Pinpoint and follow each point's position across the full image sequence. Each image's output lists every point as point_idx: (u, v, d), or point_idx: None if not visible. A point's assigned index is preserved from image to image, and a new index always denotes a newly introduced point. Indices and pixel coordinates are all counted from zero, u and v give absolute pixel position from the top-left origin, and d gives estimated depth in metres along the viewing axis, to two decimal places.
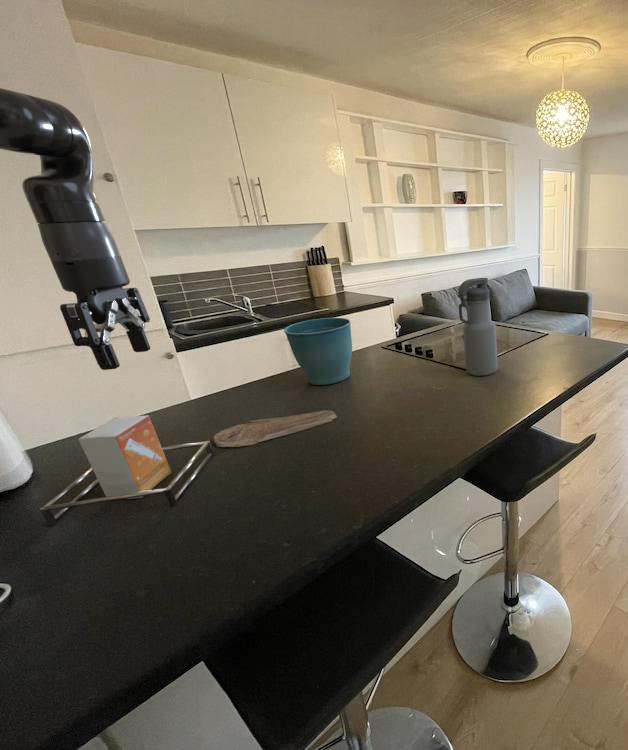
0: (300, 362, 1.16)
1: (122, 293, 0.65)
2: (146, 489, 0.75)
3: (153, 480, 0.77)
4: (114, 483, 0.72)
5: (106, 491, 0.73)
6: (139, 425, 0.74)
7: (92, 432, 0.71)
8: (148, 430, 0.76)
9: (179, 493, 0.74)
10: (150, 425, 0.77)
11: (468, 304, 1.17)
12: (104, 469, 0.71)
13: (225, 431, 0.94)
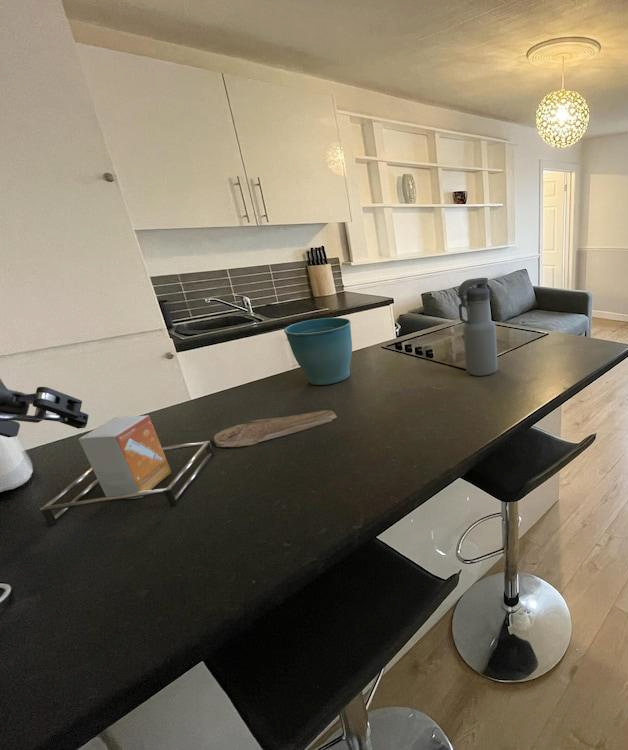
0: (300, 362, 1.16)
1: (6, 408, 0.51)
2: (146, 489, 0.75)
3: (153, 480, 0.77)
4: (114, 483, 0.72)
5: (106, 491, 0.73)
6: (139, 425, 0.74)
7: (92, 432, 0.71)
8: (148, 430, 0.76)
9: (179, 493, 0.74)
10: (150, 425, 0.77)
11: (468, 304, 1.17)
12: (105, 469, 0.71)
13: (225, 431, 0.94)
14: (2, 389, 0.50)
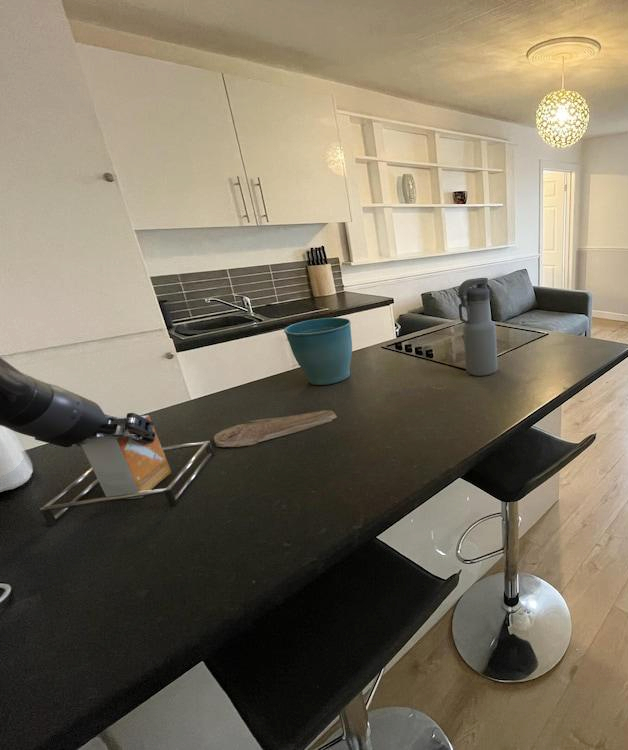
0: (300, 362, 1.16)
1: (103, 429, 0.66)
2: (146, 489, 0.75)
3: (153, 480, 0.77)
4: (114, 483, 0.72)
5: (106, 491, 0.73)
6: None
7: None
8: None
9: (179, 493, 0.74)
10: None
11: (468, 304, 1.17)
12: (105, 469, 0.71)
13: (225, 431, 0.94)
14: (102, 415, 0.65)
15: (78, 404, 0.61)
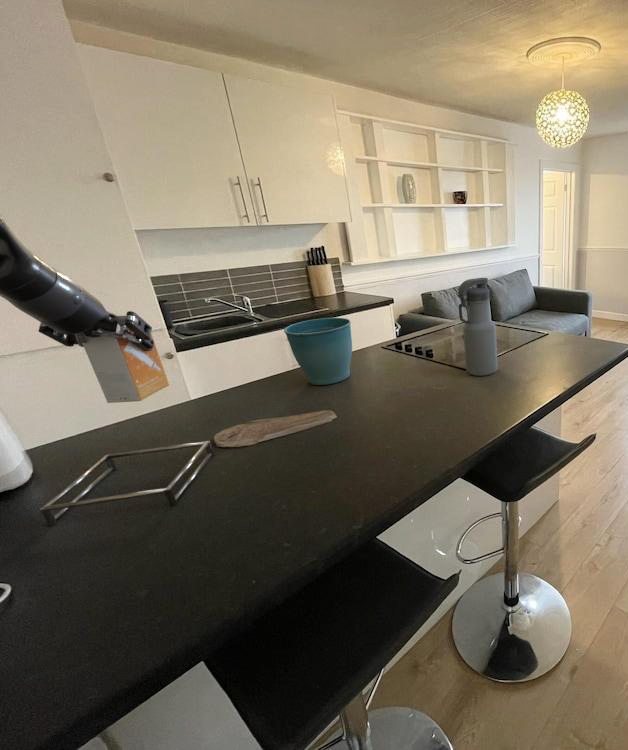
0: (300, 362, 1.16)
1: (104, 324, 0.69)
2: (144, 394, 0.78)
3: (151, 387, 0.80)
4: (114, 385, 0.75)
5: (106, 393, 0.76)
6: None
7: None
8: None
9: (179, 493, 0.74)
10: None
11: (468, 304, 1.17)
12: (105, 369, 0.74)
13: (225, 431, 0.94)
14: (103, 309, 0.68)
15: (80, 292, 0.64)
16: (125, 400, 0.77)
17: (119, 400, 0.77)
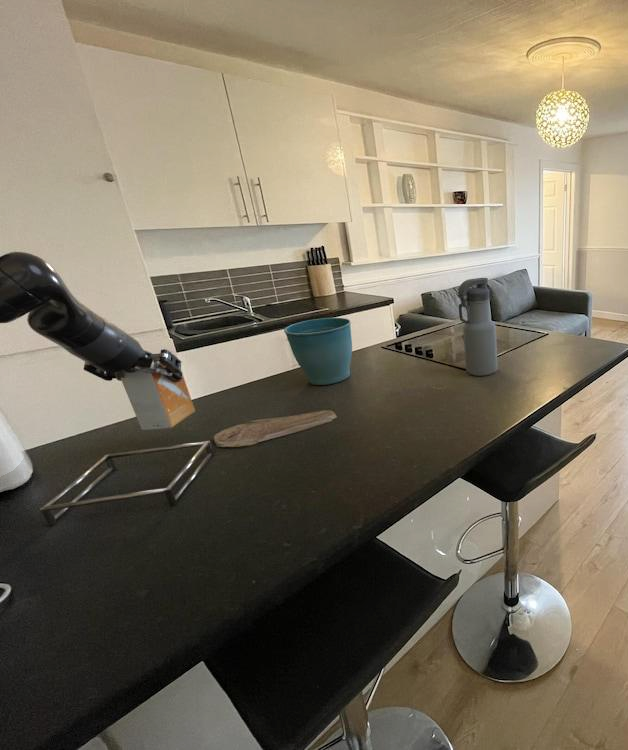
0: (300, 362, 1.16)
1: (141, 362, 0.78)
2: (175, 421, 0.86)
3: (180, 414, 0.88)
4: (148, 414, 0.84)
5: (140, 421, 0.84)
6: None
7: None
8: None
9: (179, 493, 0.74)
10: None
11: (468, 304, 1.17)
12: (140, 400, 0.82)
13: (225, 431, 0.94)
14: (140, 349, 0.77)
15: (123, 336, 0.72)
16: (158, 427, 0.85)
17: (152, 427, 0.85)
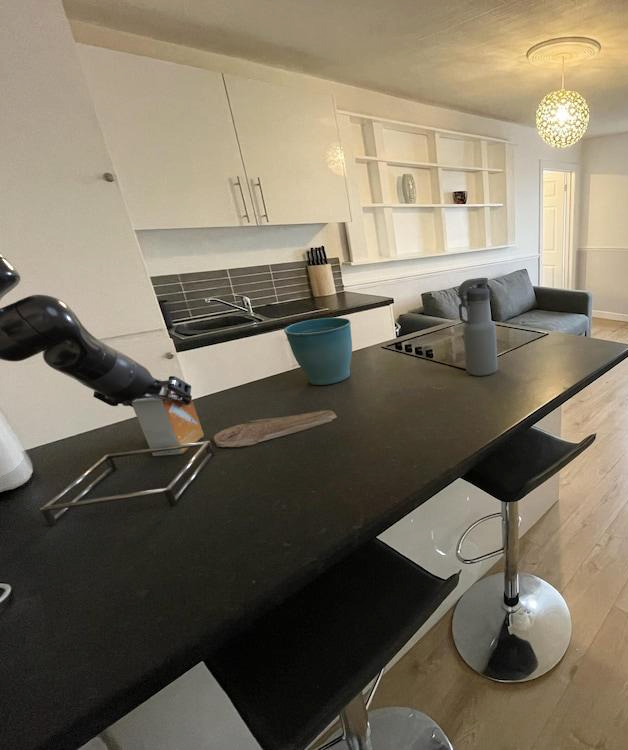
0: (300, 362, 1.16)
1: (151, 389, 0.79)
2: None
3: (190, 440, 0.90)
4: (159, 441, 0.86)
5: (152, 447, 0.86)
6: None
7: None
8: None
9: (179, 493, 0.74)
10: None
11: (468, 304, 1.17)
12: (152, 428, 0.85)
13: (225, 431, 0.94)
14: (150, 377, 0.78)
15: (134, 366, 0.74)
16: (168, 453, 0.87)
17: (163, 453, 0.87)
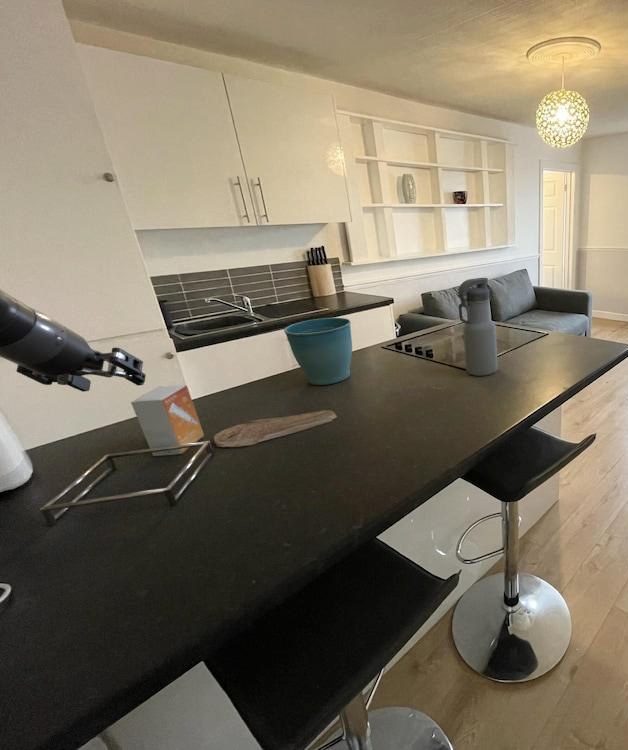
0: (300, 362, 1.16)
1: (89, 363, 0.65)
2: None
3: (190, 440, 0.90)
4: (159, 441, 0.86)
5: (152, 447, 0.86)
6: (179, 392, 0.88)
7: (141, 397, 0.84)
8: (186, 397, 0.90)
9: (179, 493, 0.74)
10: (187, 393, 0.90)
11: (468, 304, 1.17)
12: (152, 428, 0.85)
13: (225, 431, 0.94)
14: (87, 348, 0.64)
15: (62, 332, 0.60)
16: (168, 453, 0.87)
17: (163, 453, 0.87)
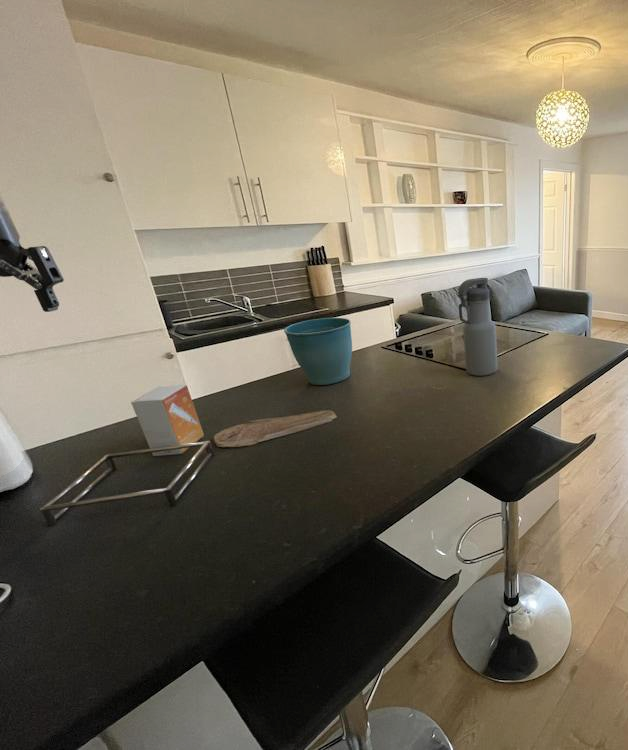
0: (300, 362, 1.16)
1: (7, 250, 0.64)
2: None
3: (190, 440, 0.90)
4: (159, 441, 0.86)
5: (152, 447, 0.86)
6: (179, 392, 0.88)
7: (141, 397, 0.84)
8: (186, 397, 0.90)
9: (179, 493, 0.74)
10: (187, 393, 0.90)
11: (468, 304, 1.17)
12: (152, 428, 0.85)
13: (225, 431, 0.94)
14: (16, 236, 0.65)
15: (2, 205, 0.64)
16: (168, 453, 0.87)
17: (163, 453, 0.87)
